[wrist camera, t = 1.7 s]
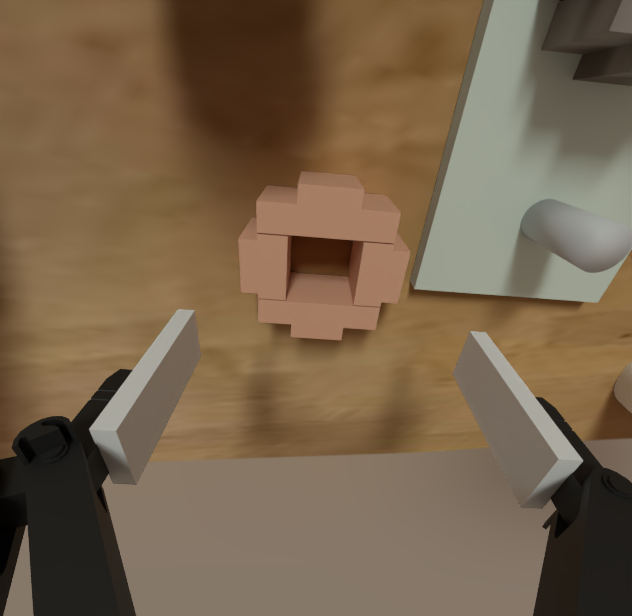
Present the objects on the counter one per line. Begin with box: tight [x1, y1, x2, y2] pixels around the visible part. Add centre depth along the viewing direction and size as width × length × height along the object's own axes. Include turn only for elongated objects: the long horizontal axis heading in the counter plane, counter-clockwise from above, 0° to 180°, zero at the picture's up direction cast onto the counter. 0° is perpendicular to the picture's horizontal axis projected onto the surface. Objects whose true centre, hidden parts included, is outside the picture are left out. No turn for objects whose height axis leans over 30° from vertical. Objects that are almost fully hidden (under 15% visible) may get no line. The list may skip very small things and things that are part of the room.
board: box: [410, 0, 632, 303], centre depth 18 cm, size 16×27×8 cm, turn 175°
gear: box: [238, 171, 410, 340], centre depth 24 cm, size 11×11×5 cm
